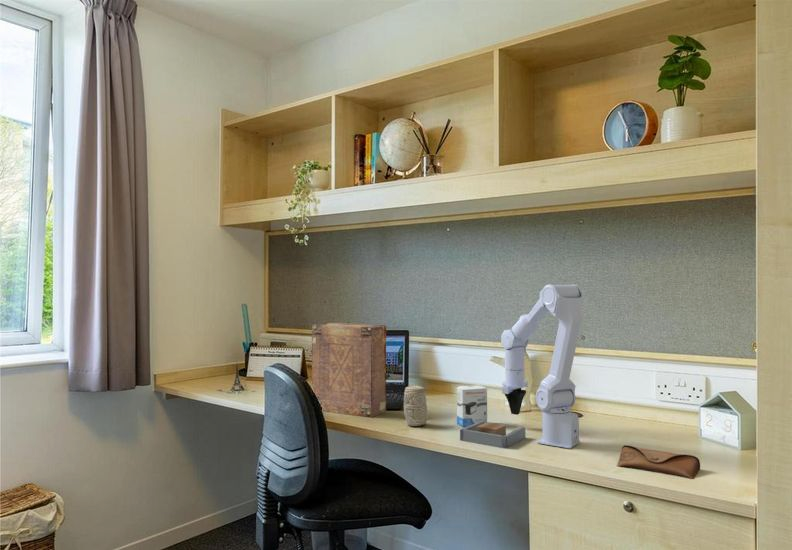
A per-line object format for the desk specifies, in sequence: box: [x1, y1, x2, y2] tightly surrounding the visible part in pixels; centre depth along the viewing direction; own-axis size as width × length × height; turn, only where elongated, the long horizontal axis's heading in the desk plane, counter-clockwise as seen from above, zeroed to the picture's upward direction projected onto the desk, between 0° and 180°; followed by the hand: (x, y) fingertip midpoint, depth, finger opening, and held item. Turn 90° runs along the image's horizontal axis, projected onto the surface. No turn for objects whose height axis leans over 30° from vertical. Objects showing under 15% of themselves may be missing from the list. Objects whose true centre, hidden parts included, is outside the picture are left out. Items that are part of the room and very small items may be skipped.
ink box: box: [456, 384, 488, 428], centre depth 185 cm, size 8×5×12 cm, turn 105°
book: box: [311, 322, 387, 418], centre depth 205 cm, size 25×9×30 cm, turn 59°
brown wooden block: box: [477, 421, 507, 436], centre depth 168 cm, size 6×6×4 cm
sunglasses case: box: [616, 444, 701, 480], centre depth 142 cm, size 18×7×7 cm
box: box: [459, 421, 526, 449], centre depth 168 cm, size 14×13×3 cm
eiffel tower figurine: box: [217, 361, 254, 395], centre depth 244 cm, size 15×10×13 cm
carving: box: [403, 385, 428, 427], centre depth 184 cm, size 6×8×12 cm
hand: (515, 414), depth 180 cm, fingers closed
